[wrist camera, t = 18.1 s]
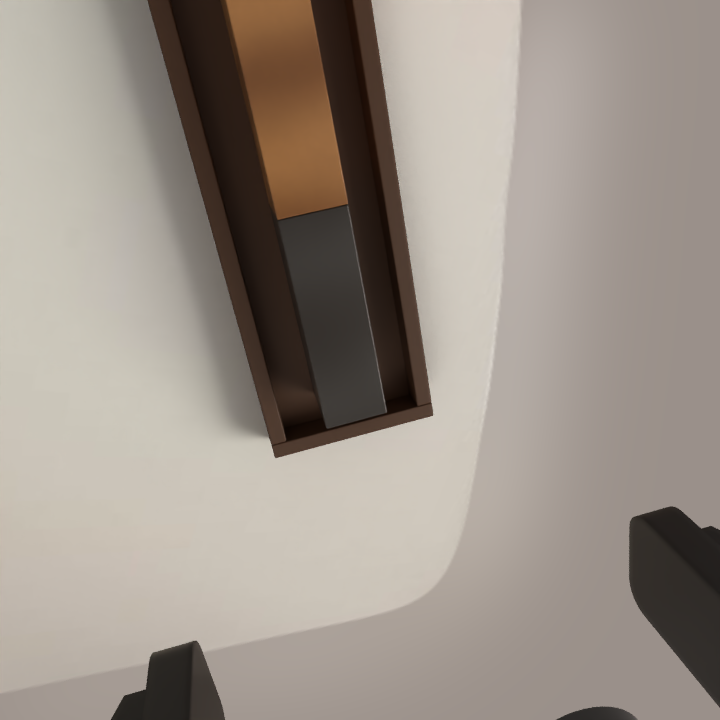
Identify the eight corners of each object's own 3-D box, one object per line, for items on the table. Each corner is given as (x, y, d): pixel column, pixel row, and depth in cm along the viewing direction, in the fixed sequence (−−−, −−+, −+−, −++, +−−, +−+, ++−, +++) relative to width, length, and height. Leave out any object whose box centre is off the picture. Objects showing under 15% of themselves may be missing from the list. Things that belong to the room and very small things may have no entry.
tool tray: (422, 399, 36) (433, 415, 34) (272, 439, 35) (275, 458, 33) (338, -135, 26) (348, -152, 24) (122, -100, 25) (115, -116, 23)
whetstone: (368, 378, 34) (387, 413, 31) (314, 393, 34) (326, 429, 30) (283, -60, 26) (295, -84, 22) (209, -47, 25) (208, -69, 22)
